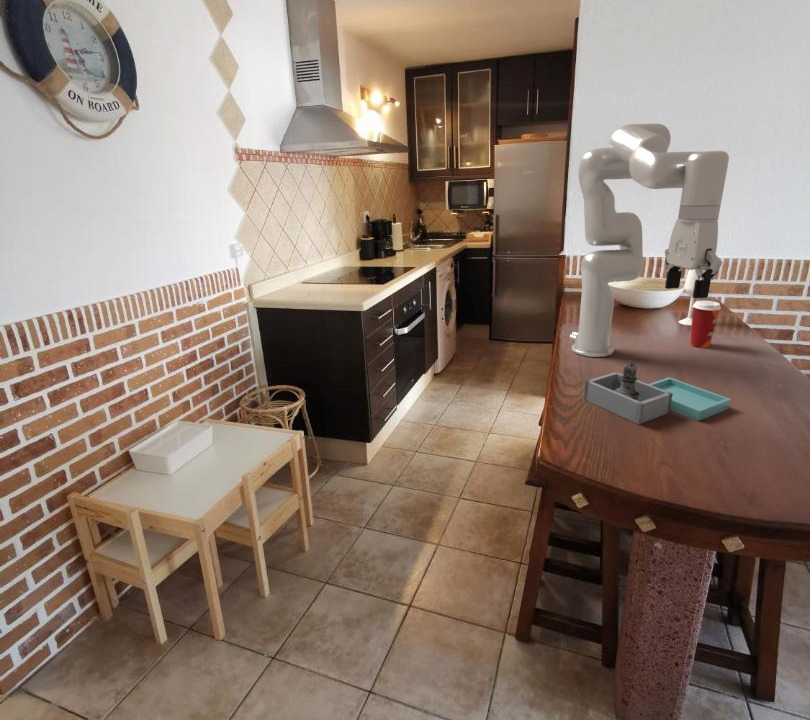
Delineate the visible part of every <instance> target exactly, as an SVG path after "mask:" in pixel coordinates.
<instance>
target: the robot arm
mask: <svg viewBox="0 0 810 720" xmlns="http://www.w3.org/2000/svg"><path fill="white" fill-rule="evenodd" d="M671 139H672V138H671V133H670V130H669V129H668V127H667V126H666V125H664V124H662V123H634V124H633V123H632V124H631V123H630V124H625V125H623V126H620V127H619V128H618V129H616V130H615V131H614V132H613V134H612V135H611V137H610V139H609V147H602V148H594V149H592V150H591V149H590V150H589V151H587V152H585V153H584V155H583V156H582V157H581V159H580V161H579V164H578V165H579V166H578V174H577V175H578V177H577V178H578V182H579V187H580V190H581V194H582V198H583V206H584V208H583V209H584V210H583V215H584V217H583V218H584V234H585V235H584V236H585V241H586V242H587V244H589V245H590V246H593V247H607V246H608V247H610V246H619V249H603V250H602V249H601V250H594V251H591V252H587V254H585V255H583V257H582V259H581V261H580V262H581V263H580V273H581V299H580V307H579V308H580V311H579V320H578V331H575V330H574V331H572V333H571V334H570V335H569V338H570V339H571V340H574V343H573V344H572V345H571V350H572V352H574V353H575V354H578V355H581V356H585V357H592V358H603V357H608V356H609V357H610V356H612V354H614V351H615V350H614V347H613V346H612V345H610V340H611V331H612V322H613V313H614V306H615V295H614V292H613V290H612V289H611V287H610V286H609V283H618V282H619V283H620V282H630V281H634V280H637V279H638V278H639V277H640V276H641V274H642V271H643V265H644V264H643V263H644V258H643V256H644V254H643V251H644V249H643V226H642V222H641V219H640V217H639V216H638V215H637V214H636V213H633V212H629V211H628V212H627V211H626V212H623V211H622V212H618V211H616V205H615V204H616V203H615V201H616V200H615V195H614V192H613V191H612V189H611V187H610V186H609V185H608V184H607V183H606V182H605V180H607V181H608V180H629V179H631V180H632V181H634V182H636V183H637V184H639V185H641V186H643V187H644V188H647V189H652V190H662V189H663V190H665V189H682V190H681V195H680V203H679V210H678V215H677V219H676V220H675V223H674V225H673V228H672V231H671V235H670V240H669V243H668V248H667V249H665V250H664V256H665V264H666V267H665V269H666V278H665V279H666V280H665V286H664V287H665V289H667V290H670V289H671V290H672V289H679V288H680V283H681V278H682V270H681V269H685V270H688V271H689V270H693V269H695V271H696V274H697V277H698V280H695V285H694V291H693V298H695V299H707V298H708V297H709V293H710V287H711V283H712V282H711V281H712V280H714V278H715V276H716V275H717V274H718V272H719V269H720V268H721V266H722V264H723V261H722V260H721V259H720V257H718V256H717V247H718V239H719V238H718V237H719V217H720V211H721V205H722V201H723V194H724V189H725V184H726V178H727V173H728V168H729V167H728V166H729V159H730V156H729V154H728V152H727V151H724V150H723V151H722V150H714V151H713V150H709V151H668V150H669V147H670V145H671ZM702 270H705V272H704V273H703V272H702Z"/></svg>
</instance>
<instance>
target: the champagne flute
mask: <svg viewBox="0 0 810 720" xmlns="http://www.w3.org/2000/svg"><path fill="white" fill-rule="evenodd" d="M702 272H703V273H704V272H705V270H702ZM695 280H698V277H697V274H696V271H695V269H693V270H688V272H687V276H686V277H685V282H684V286H683V289H684V291H685V293H686V294H687V295H688V296H689V297H690V301H689V306H688V307H689V309H688V314H687V317H686V318H683V319H681V320H678V323H679V324H680V325H685V326H692V318H693V309H694V307H693V305H694V303H695V300H696V298H693V291H694V285H695Z"/></svg>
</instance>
